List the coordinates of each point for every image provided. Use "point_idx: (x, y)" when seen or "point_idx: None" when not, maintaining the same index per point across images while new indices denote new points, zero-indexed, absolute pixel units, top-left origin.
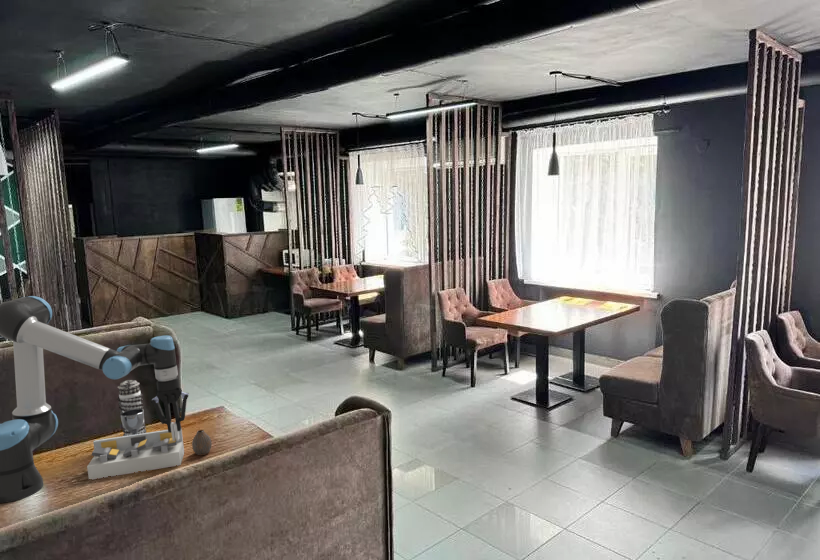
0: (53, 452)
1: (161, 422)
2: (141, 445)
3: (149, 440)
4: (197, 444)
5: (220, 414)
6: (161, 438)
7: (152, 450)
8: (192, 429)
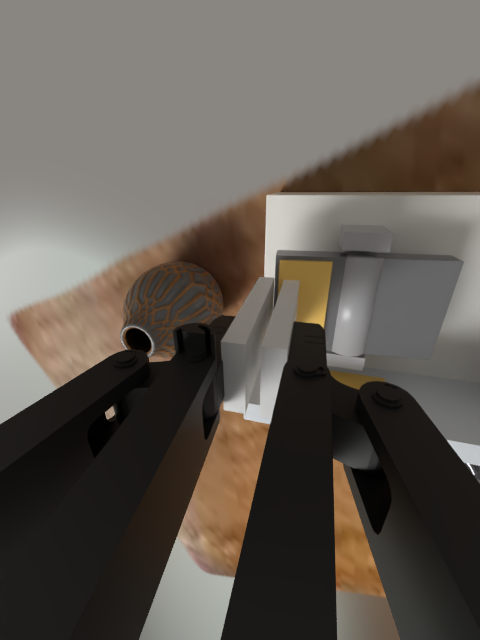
0: None
1: (413, 403)
2: None
3: (465, 406)
4: (178, 275)
5: (192, 540)
6: None
7: None
8: None
